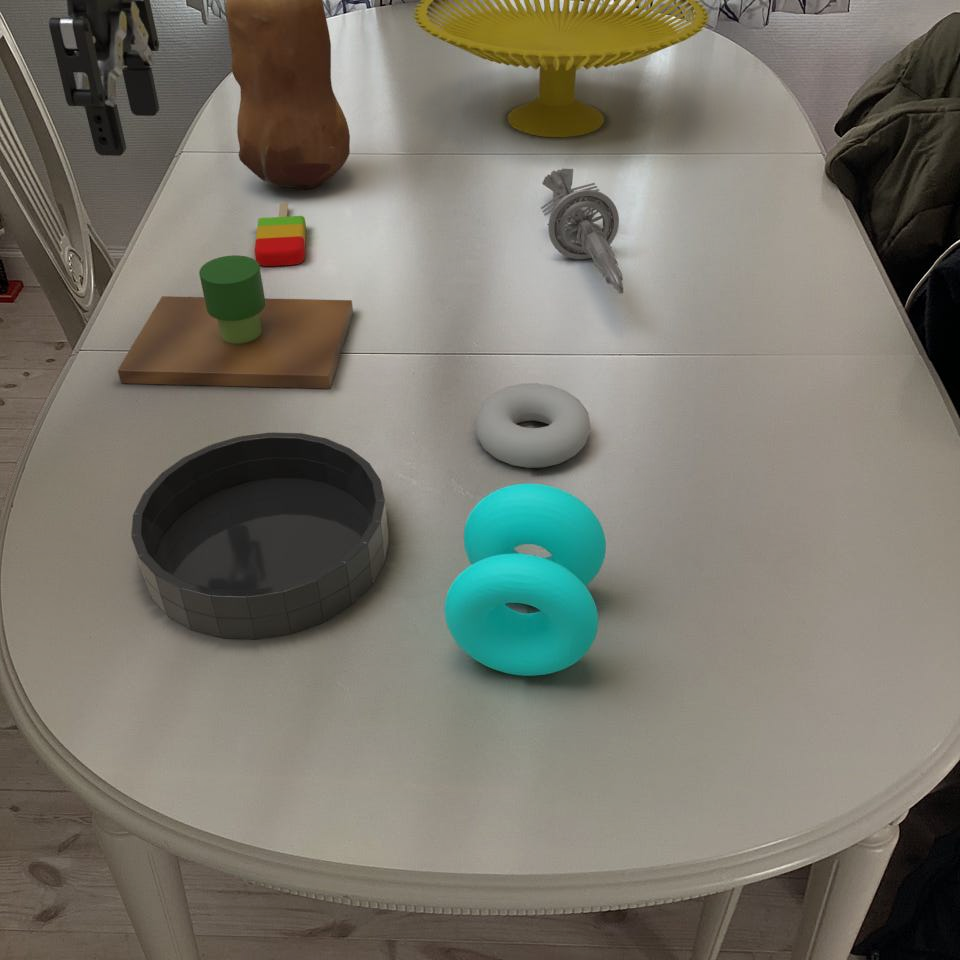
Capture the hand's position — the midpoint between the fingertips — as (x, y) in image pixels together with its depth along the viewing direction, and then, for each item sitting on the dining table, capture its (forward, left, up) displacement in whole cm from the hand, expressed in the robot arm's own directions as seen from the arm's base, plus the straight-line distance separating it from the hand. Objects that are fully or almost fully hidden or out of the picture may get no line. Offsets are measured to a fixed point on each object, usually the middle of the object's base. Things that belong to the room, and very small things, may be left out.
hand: (129, 133), depth 82 cm
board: (+4, +6, -24) cm, 25 cm away
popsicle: (+3, +30, -24) cm, 38 cm away
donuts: (+33, -30, -24) cm, 51 cm away
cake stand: (+35, +69, -24) cm, 81 cm away
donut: (+33, -8, -24) cm, 41 cm away
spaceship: (+38, +26, -24) cm, 52 cm away
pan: (+13, -23, -24) cm, 36 cm away
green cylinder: (+4, +6, -22) cm, 23 cm away
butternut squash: (+2, +45, -24) cm, 51 cm away
